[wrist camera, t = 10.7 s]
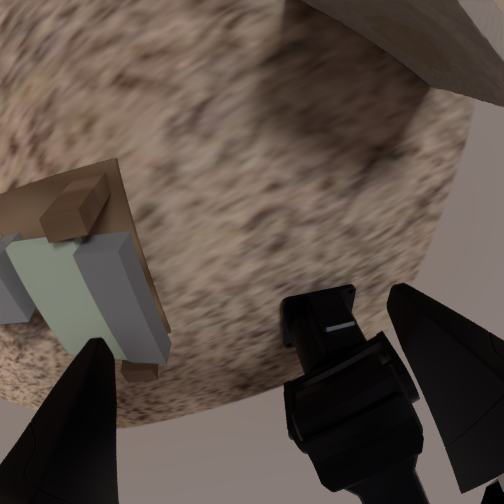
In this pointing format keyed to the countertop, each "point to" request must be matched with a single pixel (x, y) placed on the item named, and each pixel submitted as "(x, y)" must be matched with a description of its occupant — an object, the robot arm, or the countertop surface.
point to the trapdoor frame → (79, 222)
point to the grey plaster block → (434, 39)
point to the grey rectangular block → (12, 288)
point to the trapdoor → (93, 294)
